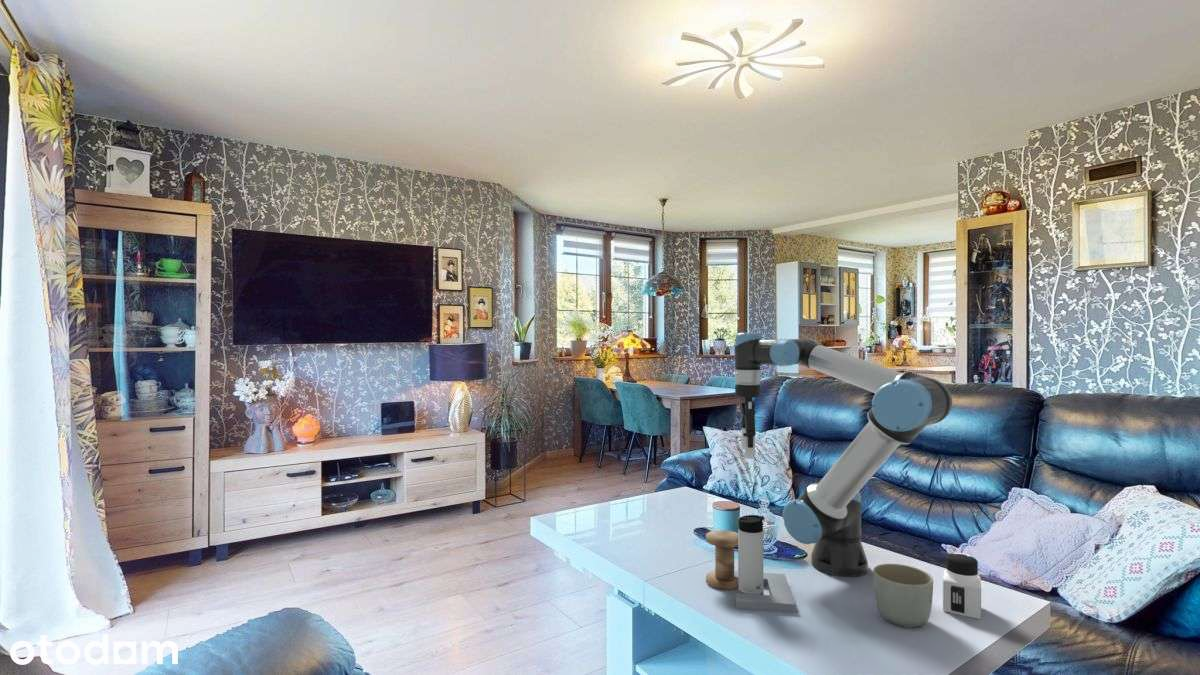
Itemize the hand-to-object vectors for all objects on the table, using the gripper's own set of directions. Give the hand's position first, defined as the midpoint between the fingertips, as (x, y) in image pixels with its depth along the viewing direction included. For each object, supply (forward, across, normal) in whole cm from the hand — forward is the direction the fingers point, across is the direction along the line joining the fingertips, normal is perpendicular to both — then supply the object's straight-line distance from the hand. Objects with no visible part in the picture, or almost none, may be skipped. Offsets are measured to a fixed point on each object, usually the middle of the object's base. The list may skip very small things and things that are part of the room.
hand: (748, 453), depth 177 cm
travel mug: (+31, +27, -2) cm, 41 cm away
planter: (+31, +36, +32) cm, 57 cm away
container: (+31, +28, +48) cm, 64 cm away
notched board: (+31, +27, +1) cm, 41 cm away
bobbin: (+31, +21, -8) cm, 38 cm away
